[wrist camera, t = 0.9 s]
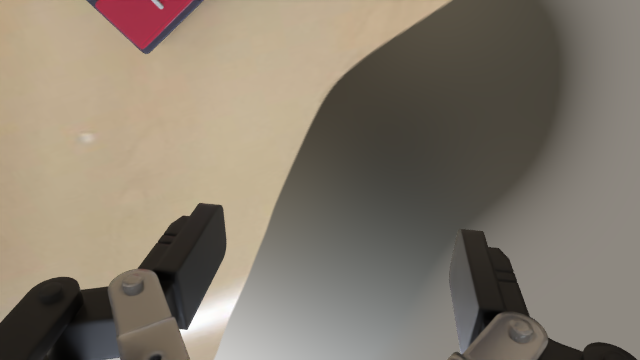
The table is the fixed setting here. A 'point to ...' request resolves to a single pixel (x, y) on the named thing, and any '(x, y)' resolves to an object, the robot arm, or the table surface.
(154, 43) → the calculator
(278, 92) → the table surface
